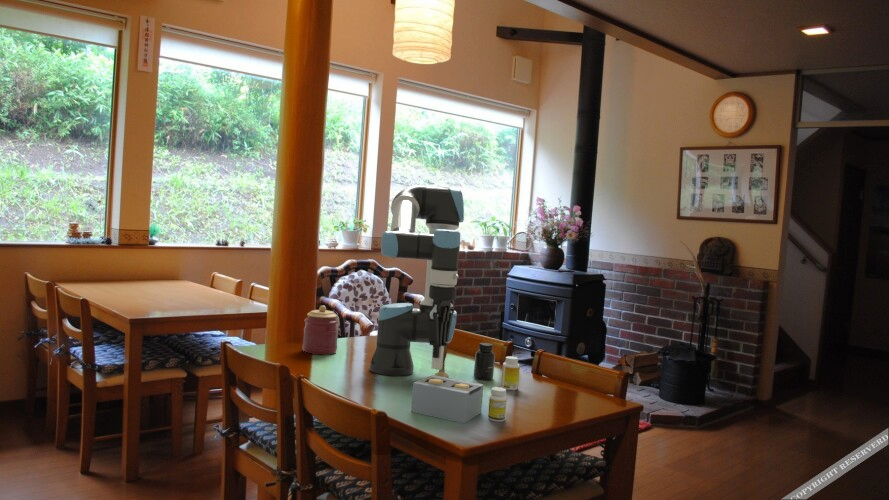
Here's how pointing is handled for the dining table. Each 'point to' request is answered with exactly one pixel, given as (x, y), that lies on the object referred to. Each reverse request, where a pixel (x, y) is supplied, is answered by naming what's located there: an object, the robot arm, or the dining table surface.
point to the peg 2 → (462, 386)
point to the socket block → (447, 399)
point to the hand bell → (442, 371)
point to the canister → (320, 332)
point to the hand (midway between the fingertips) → (436, 368)
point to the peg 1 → (436, 381)
